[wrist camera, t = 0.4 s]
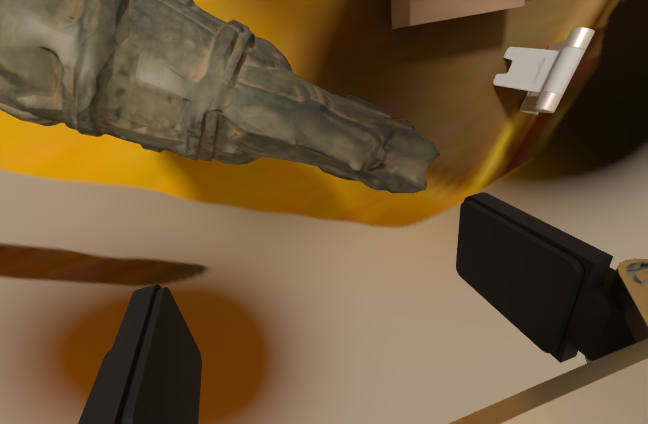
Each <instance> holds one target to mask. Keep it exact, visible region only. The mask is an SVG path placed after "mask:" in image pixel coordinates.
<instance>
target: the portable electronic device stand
mask: <svg viewBox="0 0 648 424" xmlns="http://www.w3.org/2000/svg"><path fill="white" fill-rule="evenodd" d="M594 32H595V31H594V30H592V29H589V28H573V29H572V30H571V32H570V34H569V36H568V38H567V40H564V41H561V42H557V43H554V44H551V45H549V48H548V50H544V49H532V48H520V47H509V48H508V49H507V51H506V53H505V56H504V58H506V59H509V60H512V64H511V66H510V69H509V71H508V73H506V74H496V77H495V79H494V82H493V84H494V85H496V86H502V87H508V88H514V89H520V90H525V91H528V92H527V95H526V97H525V99H524V100H523V102H522V104H521V107H520V109H519V111H522V112H525V113H530V114H536V115H537V114H538V112H547V113H554V111H555V109H556V107H557V105H558V103H559V101H560V99H561V97H562V95H563V93H564V91H565V89H566V87H567V85H568V83H569V82H570V80H571V78H572V76H573V74H574V72H575V70H576V68H577V66H578V64H579V62H580V60H581V58H582V56H583V54H584V52H585V50H586V48H587V46H588V44H589V42H590V40H591V38H592V36H593V34H594Z"/></svg>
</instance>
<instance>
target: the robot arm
mask: <svg viewBox="0 0 648 424" xmlns="http://www.w3.org/2000/svg"><path fill="white" fill-rule="evenodd" d="M612 258H613V256H611V255H609V254H607V253H605V252H603V251H601V250H599V249H597V248H595V247H593V246H591V245H589V244H587V243H585V242H583V241H581V240H579V239H577V238H575V237H573V236H571V235H569V234H567V233H565V232H563V231H561V230H559V229H557V228H555V227H553V226H551V225H549V224H547V223H545V222H543V221H541V220H539V219H537V218H535V217H533V216H531V215H529V214H527V213H525V212H523V211H521V210H519V209H517V208H515V207H513V206H511V205H509V204H507V203H505V202H503V201H501V200H499V199H497V198H495V197H493V196H491V195H489V194H487V193H484V192H483V193H479V194H475V195H471V196H468V197H466V198H465V200H464V202H463V203H462V204H461V208H460V221H459V234H458V247H457V261H456V269H457V272H458V274H459V275H460V276H461V278H462V279H464V280H465V281H466V282H467V283H468V284H469V285H470V286H471V287H473V288H474V289H475V290H476V291H477V292H478V293H479V294H480V295H481V296H482V297H484V298H485V299H486V300H487V301H488V302H489V303H490V304H491V305H492V306H493V307H495V308H496V309H497V310H498V311H499V312H500V313H501V314H502V315H503V316H505V317H506V318H507V319H508V320H509V321H510V322H511V323H512V324H514V325H515V326H516V327H517V328H518V329H519V330H520V331H521V332H522V333H523V334H524V335H526V336H527V337H528V338H529V339H530V340H531V341H532V342H533V343H534V344H535V345H537V346H538V347H539V348H540V349H541V350H542V351H544V352H546V353H550V354H551V355H552V356H554V357H555V358H556V359H557V360H558V361H559V362H560V363H561V362H563V361H566V360H568V359H571V358H573V357H575V356H576V355H577V352H578V350H579V351H580V352H581V353H582V354H584V355H585V359H586V362H587V364H585V365H583V366H580V367H578V368H576V369H573V370H571V371H569V372H567V373H564V374H562V375H560V376H557V377H555V378H553V379H550V380H548V381H546V382H543V383H541V384H539V385H536V386H534V387H532V388H529V389H527V390H525V391H522V392H520V393H518V394H516V395H514V396H511V397H509V398H506V399H504V400H502V401H500V402H497V403H495V404H493V405H490V406H488V407H486V408H484V409H481V410H479V411H477V412H474V413H472V414H470V415H468V416H465V417H463V418H461V419H458V420H456V421H454V422H452V423H450V424H648V260H647V259H629V260H625V261H623V262H621V263H619V265H618V267H617V269H616V270H614V269H612V268H610V267H609V266H610V263H611V261H612ZM201 370H202V359H201V354H200V351H199V349H198V347H197V345H196V343H195V341H194V339H193V337H192V335H191V333H190V331H189V328H188V326H187V324H186V322H185V320H184V318H183V316H182V314H181V312H180V310H179V308H178V306H177V304H176V302H175V300H174V298H173V296H172V294H171V292H170V290H169V289H168V288H167V287H165V288H161V286H159V285H157V284H156V285H153V286H149V287H146V288H142V289H139V290H136V291H134V293H133V294H132V297H131V300H130V302H129V305H128V307H127V310H126V313H125V316H124V318H123V321H122V323H121V326H120V329H119V332H118V334H117V337H116V339H115V342H114V344H113V347H112V349H111V350H109V351H108V352H107V354H106V356H105V357H104V359H103V362H102V365H101V367H100V370H99V372H98V375H97V377H96V380H95V382H94V386H93V388H92V390H91V392H90V395H89V397H88V400H87V403H86V405H85V408H84V410H83V413H82V416H81V418H80V420H79V423H78V424H198V417H199V400H200V385H201Z"/></svg>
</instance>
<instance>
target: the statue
mask: <svg viewBox="0 0 648 424" xmlns="http://www.w3.org/2000/svg"><path fill="white" fill-rule="evenodd" d="M0 110H2V111H4V112H6V113H8V114H10V115H12V116H14V117H16V118H18V119H20V120H23V121H28V122H32V123H36V124H40V125H44V126H52V125H56V124H59V123H65V124H66V126H67V127H69V128H71V129H75V130H77V131H78V132H80V133H81V134H85V135H90V136H96V137H99V136H102V135H104V134H108V135H111V136H114V137H117V138H120V139H123V140H126V141H130V142H134V143H138V144H140V145H141V146H142V147H143V148H144V149H147V150H152V151H156V152H162V151H164V150H168V151H171V152H175V153H178V154H179V155H180V156H184V157H187V158H190V159H194V160H198V159H202V160H206V161H211V160H212V159H213V158H214V159H216V160H218V161H220V162H223V163H227V164H234V165H240V164H245V163H249V162H252V161H254V160H256V159H258V158H259V157H261V156H265V157H271V158H277V159H283V160H289V161H295V162H301V163H305V164H310V165H314V166H317V167H319V168H320V169H321V170H322V171H323V172H325V173H328V174H331V175H334V176H336V177H339V178H342V179H347V180H354V181H360V182H363V183H364V184H365V185H366V186H368V187H370V188H372V189H375V190H387V191H389V192H391V193H415V192H419V191H422V190H425V189H426V187H427V182H426V178H425V174H426V170H427V167H428V165H429V164H430V163H431V162H432V161H433V160H434V159H436V158H437V157H438V156H439V155H440V153H439V152H438V150H437V149H436V147H435V145H434V144H433V143H432V142H430V141H429V140H427V139H426V138H424V137H423V136H422V135H420V134H419V133H417V132H416V130H415V128H414V126H413V125H412V124H411V123H409V122H408V121H405V120H404V119H403V118H392V117H390V116H389V115H388V114H387V113H386V112H385V111H384V110H383V109H381V108H379V107H378V106H376V105H374V104H372V103H370V102H368V101H365V100H363V99H360V98H358V97H355V96H353V95H348V96H347V97H345V98H343V97H340V96H337V95H334V94H331V93H329V92H328V91H326V90H324V89H322V88H320V87H318V86H316V85H314V84H312V83H310V82H308V81H307V80H305V79H303V78H301V77H299V76H297V75H295V74H294V73H293V72H292V69H291V66H290V64H289V62H288V61H287V59H286V57H285V56H284V55H283V54H282V53H281V52H280V51H279V50H278V49H277V48H276V47H275V46H274V45H273V44H271V43H270V42H269V41H267V40H264V39H262V38H258V37H255V36H254V34H253V33H252V32H251V31H250V30H249V27H247V26H245V25H243V24H241V23H239V22H237V21H235V20H232V21H230V22H228V23H226V22H224V21H222V20H220V19H218V18H216V17H214V16H212V15H211V14H209V13H207V12H205V11H204V10H202V9H201V8H199V7H198V6H196V5H195V3H194V1H193V0H0Z"/></svg>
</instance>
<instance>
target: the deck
mask: <svg viewBox="0 0 648 424" xmlns="http://www.w3.org/2000/svg"><path fill="white" fill-rule="evenodd" d="M524 2H525V0H391V19H392V29H396V28H402V27H408V26H413V25H419V24H425V23H430V22H436V21H442V20H447V19H453V18H459V17H465V16H470V15H476V14H482V13H487V12H493V11H499V10H504V9H510V8H515V7H521V6H524Z"/></svg>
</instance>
